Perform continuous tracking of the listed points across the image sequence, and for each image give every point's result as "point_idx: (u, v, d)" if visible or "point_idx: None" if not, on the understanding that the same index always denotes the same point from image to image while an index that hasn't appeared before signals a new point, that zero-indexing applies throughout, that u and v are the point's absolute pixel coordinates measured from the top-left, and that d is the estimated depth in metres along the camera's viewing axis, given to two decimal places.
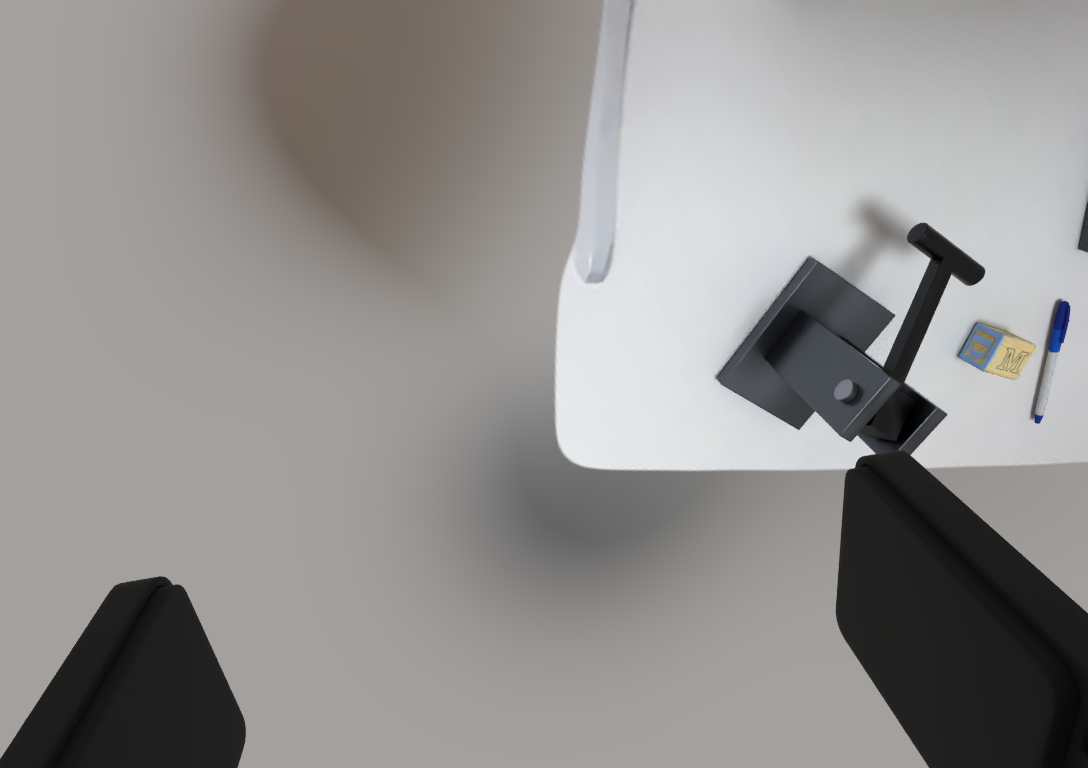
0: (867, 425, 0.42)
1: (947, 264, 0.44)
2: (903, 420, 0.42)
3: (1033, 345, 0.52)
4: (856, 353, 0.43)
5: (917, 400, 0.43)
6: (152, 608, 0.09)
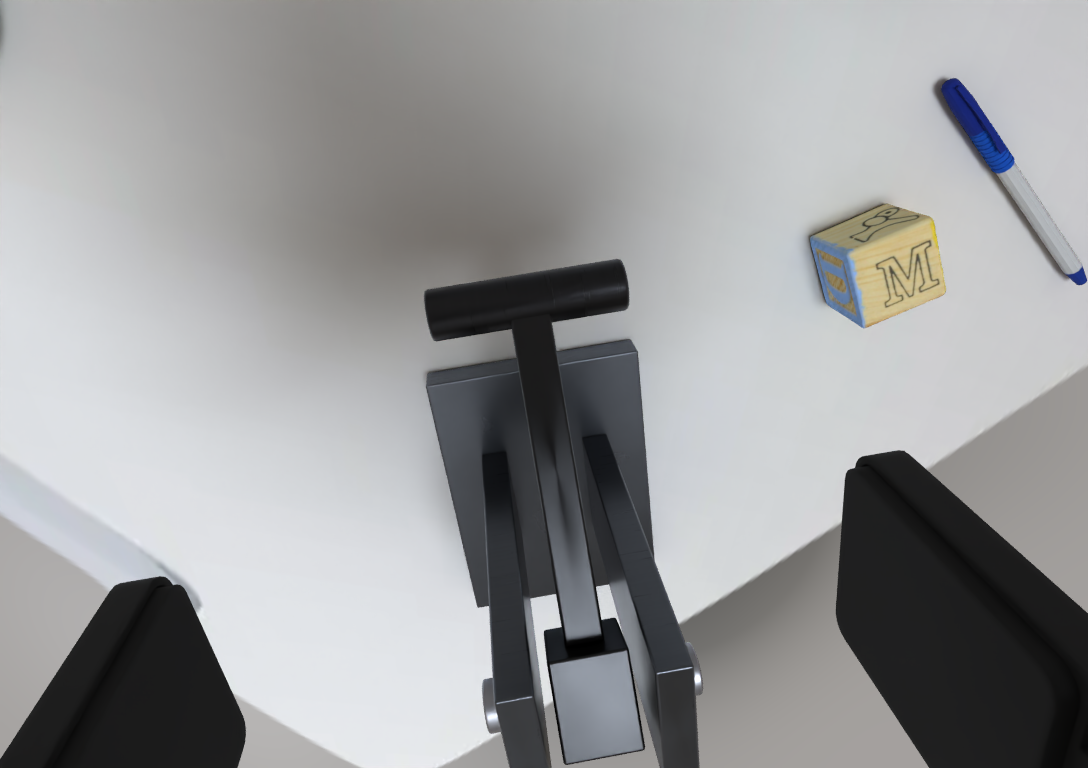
0: None
1: (529, 327, 0.19)
2: (631, 702, 0.19)
3: (927, 222, 0.23)
4: (488, 599, 0.20)
5: (640, 637, 0.19)
6: (152, 608, 0.09)
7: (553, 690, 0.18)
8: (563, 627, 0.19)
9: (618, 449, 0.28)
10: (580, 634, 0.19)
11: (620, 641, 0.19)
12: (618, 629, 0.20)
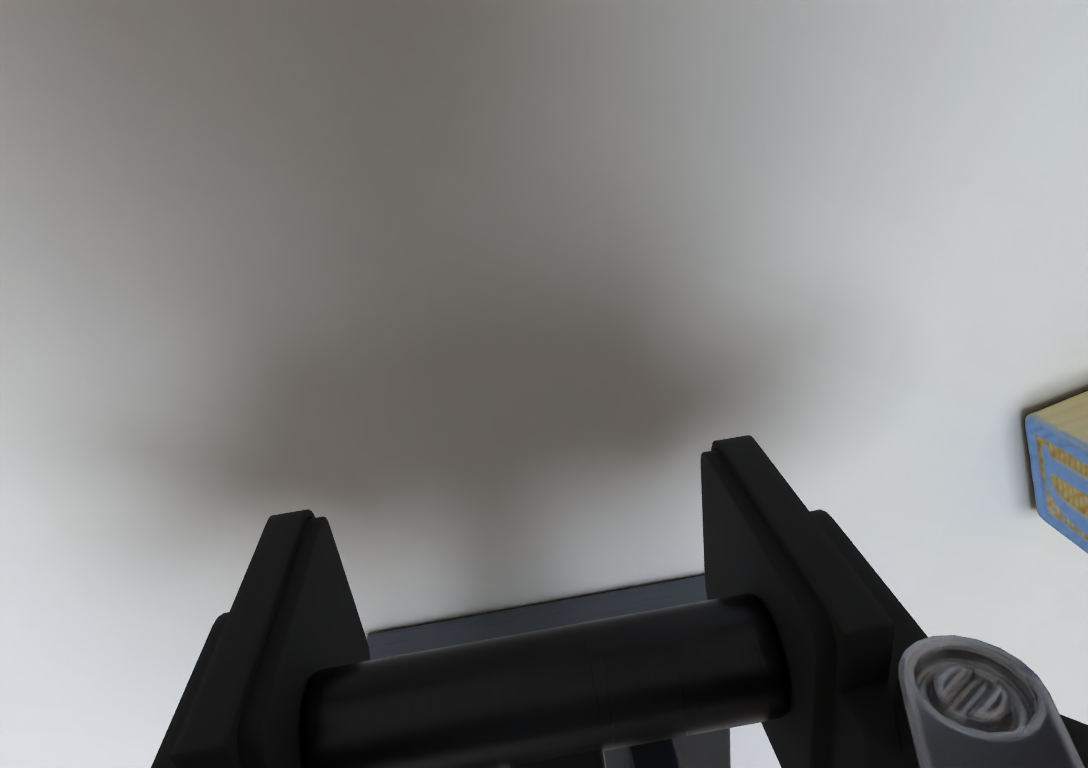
0: None
1: None
2: None
3: None
4: None
5: None
6: (309, 534, 0.09)
7: None
8: None
9: (686, 746, 0.17)
10: None
11: None
12: None
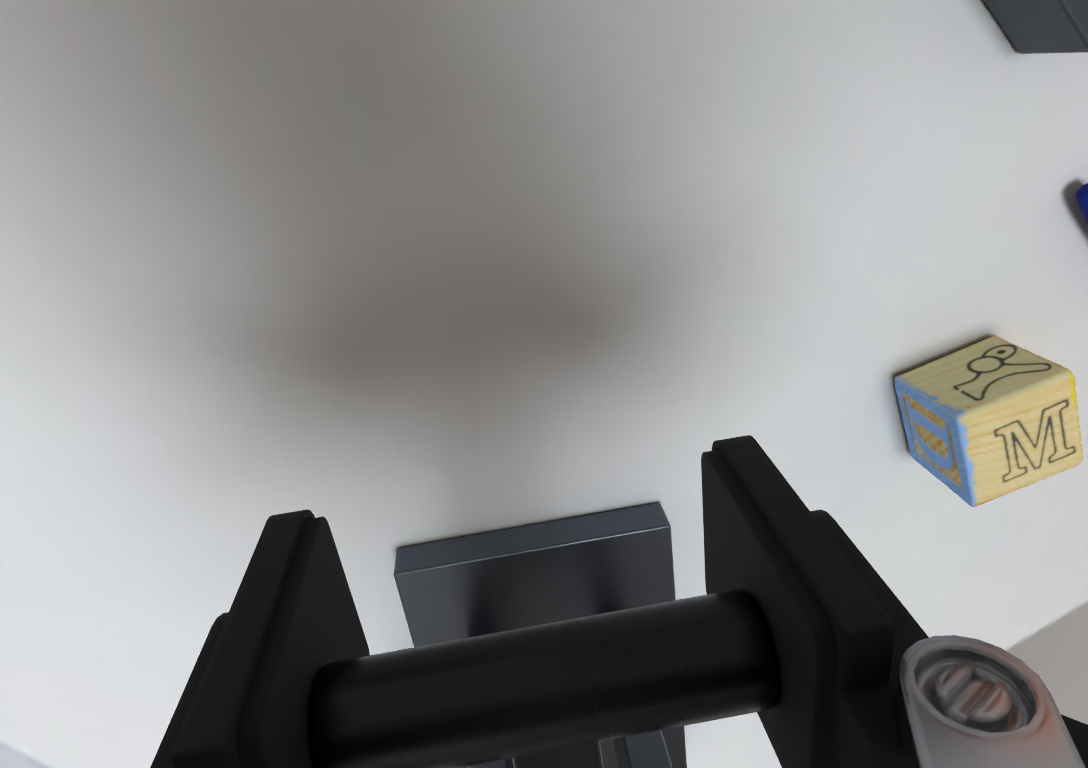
0: None
1: (553, 764, 0.09)
2: None
3: (1064, 377, 0.17)
4: None
5: None
6: (308, 535, 0.09)
7: None
8: None
9: None
10: None
11: None
12: None
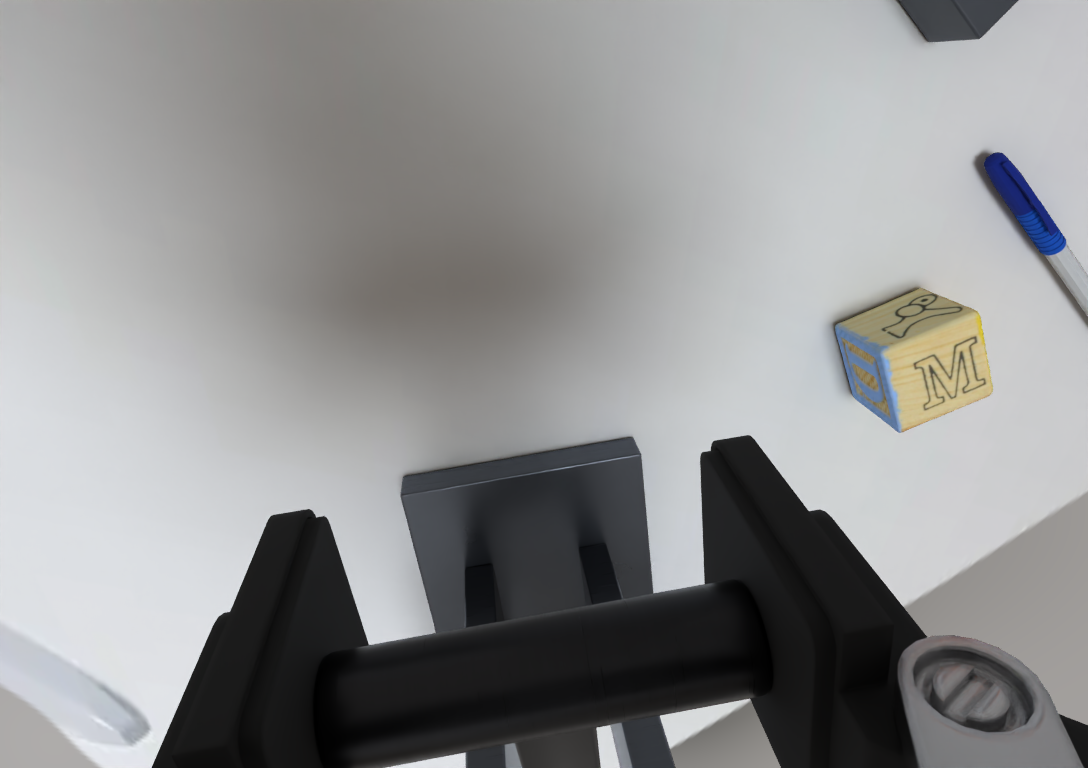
0: None
1: (550, 738, 0.09)
2: None
3: (972, 317, 0.20)
4: None
5: None
6: (309, 534, 0.09)
7: None
8: None
9: (619, 559, 0.25)
10: None
11: None
12: None
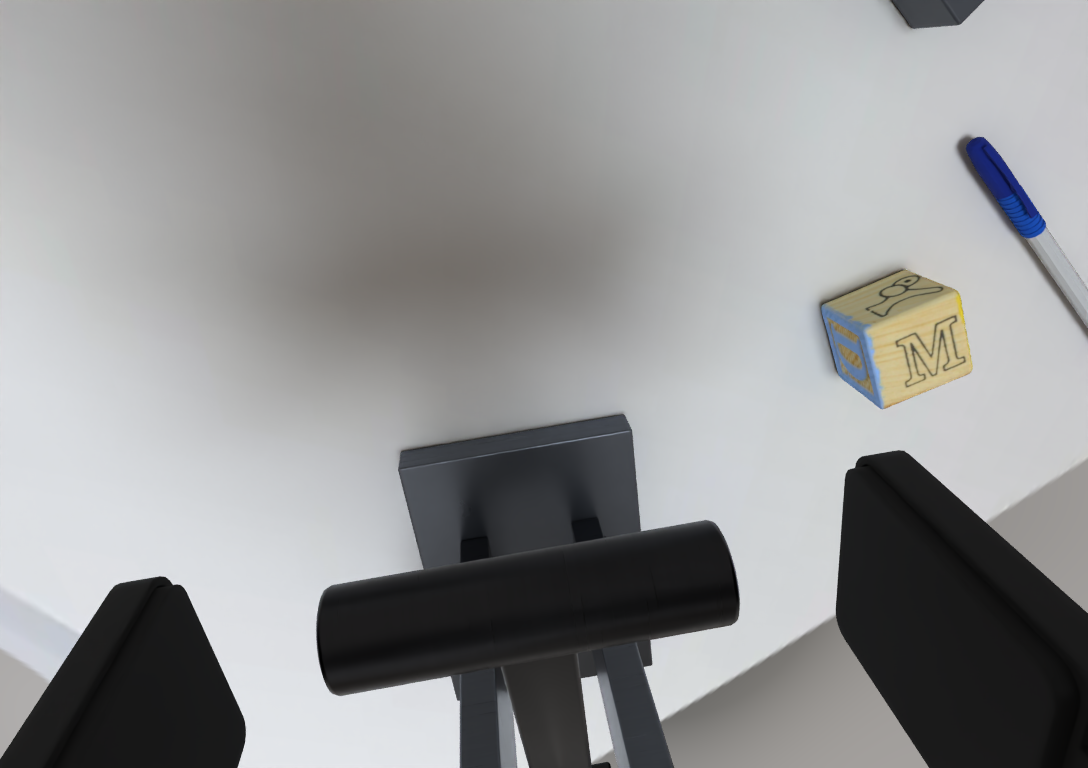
0: None
1: (535, 666, 0.10)
2: None
3: (952, 296, 0.21)
4: None
5: None
6: (152, 608, 0.09)
7: None
8: None
9: (611, 533, 0.25)
10: None
11: None
12: None
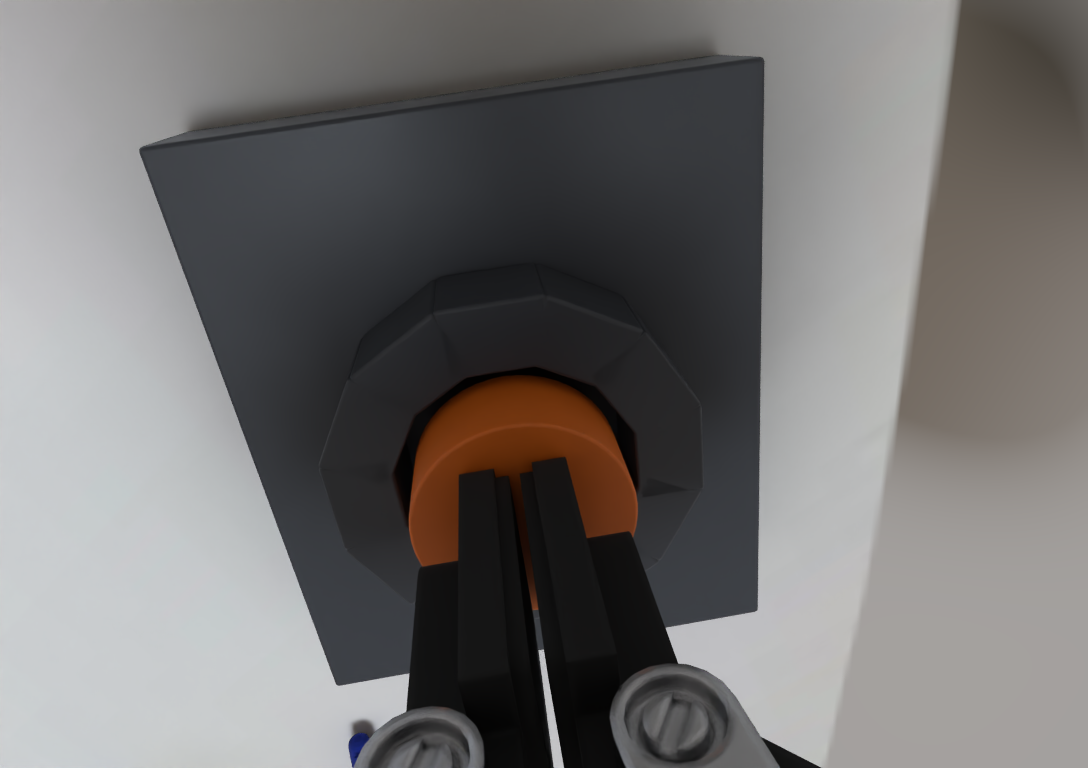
0: None
1: None
2: None
3: None
4: None
5: None
6: (503, 491, 0.10)
7: None
8: None
9: None
10: None
11: None
12: None
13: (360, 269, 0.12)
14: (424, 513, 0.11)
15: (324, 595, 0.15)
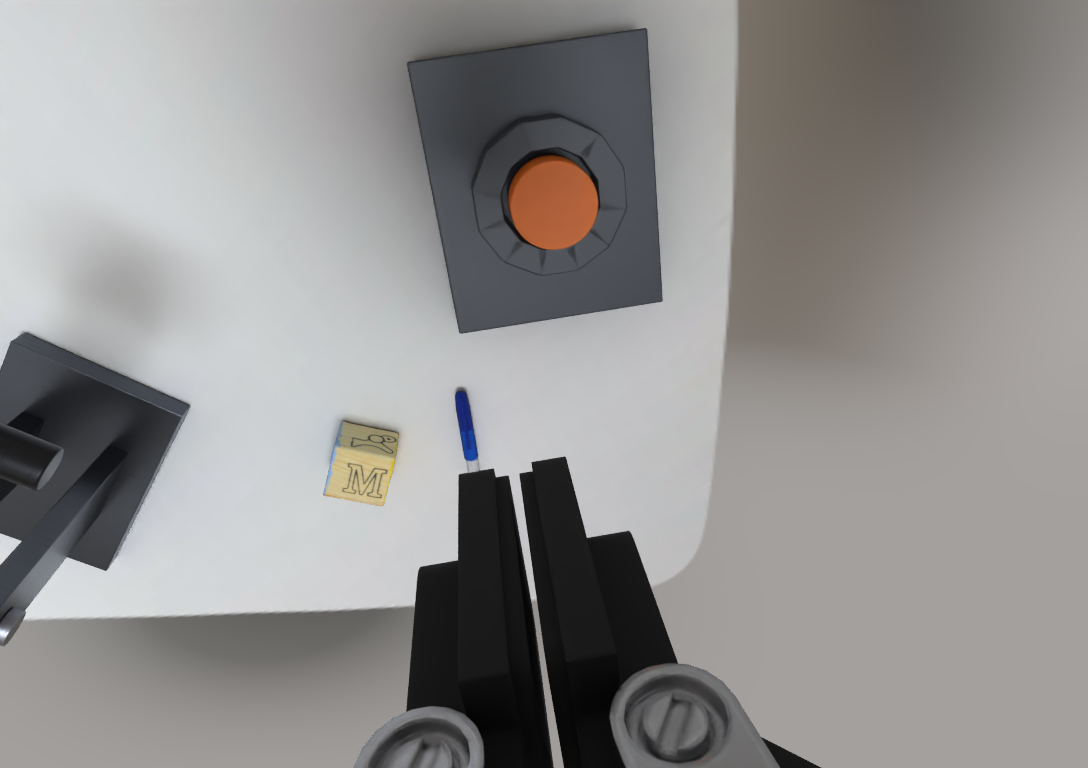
0: None
1: None
2: None
3: (390, 459, 0.35)
4: None
5: None
6: (503, 491, 0.10)
7: None
8: None
9: (130, 469, 0.36)
10: None
11: None
12: None
13: (486, 114, 0.30)
14: (517, 198, 0.28)
15: (458, 278, 0.33)
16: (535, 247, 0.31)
